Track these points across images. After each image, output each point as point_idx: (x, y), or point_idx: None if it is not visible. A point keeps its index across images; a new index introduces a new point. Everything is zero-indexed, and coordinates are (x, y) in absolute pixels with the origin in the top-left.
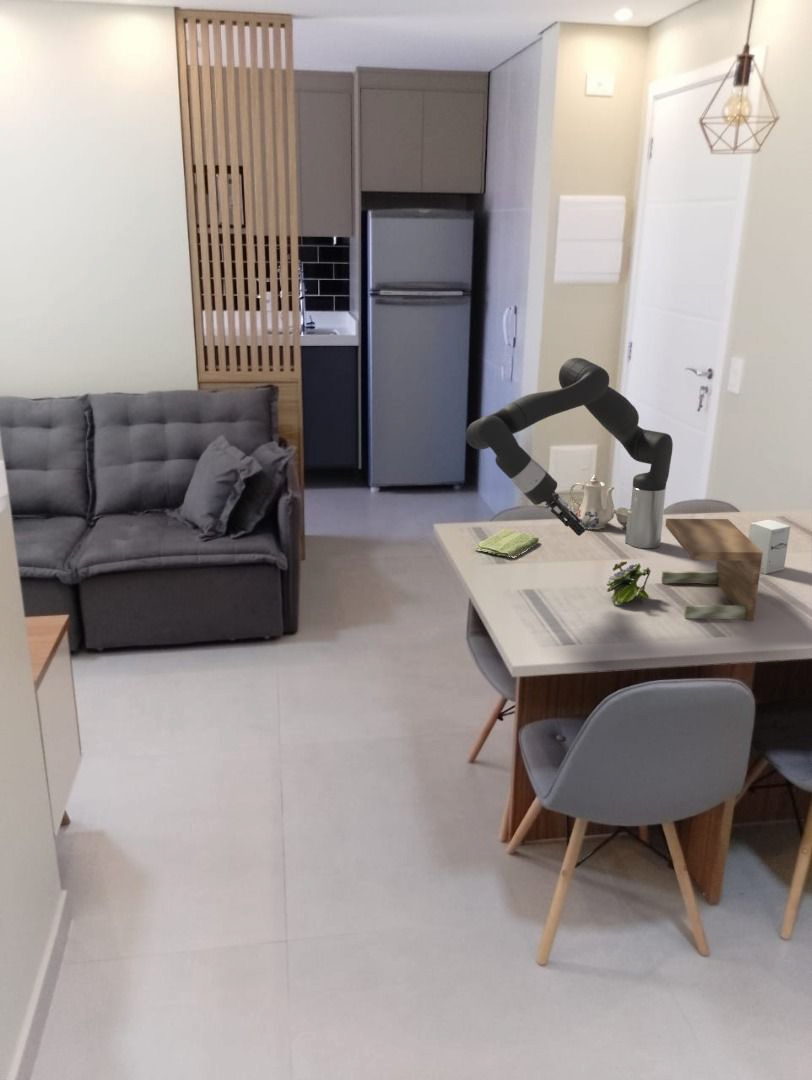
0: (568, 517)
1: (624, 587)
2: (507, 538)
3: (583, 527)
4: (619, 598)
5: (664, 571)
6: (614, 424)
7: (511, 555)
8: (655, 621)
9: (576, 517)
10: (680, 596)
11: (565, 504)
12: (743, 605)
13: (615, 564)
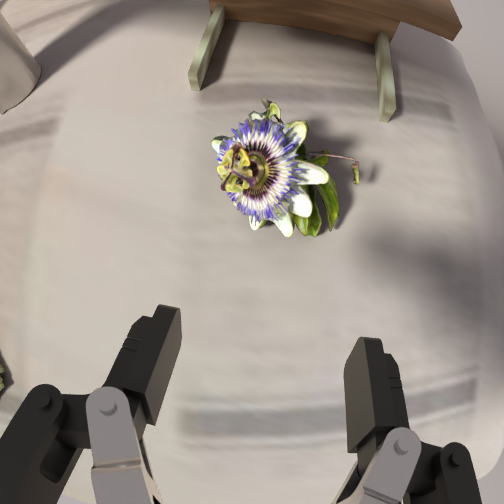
0: (159, 398)
1: (314, 195)
2: None
3: (366, 346)
4: (331, 222)
5: (190, 70)
6: None
7: (1, 379)
8: (403, 181)
9: (165, 339)
10: (276, 83)
11: (148, 484)
12: (380, 32)
13: (254, 183)
